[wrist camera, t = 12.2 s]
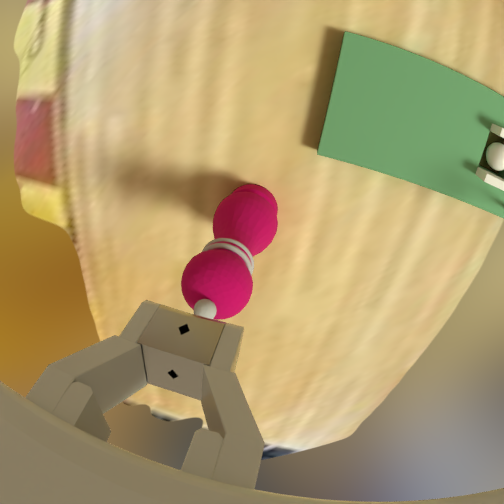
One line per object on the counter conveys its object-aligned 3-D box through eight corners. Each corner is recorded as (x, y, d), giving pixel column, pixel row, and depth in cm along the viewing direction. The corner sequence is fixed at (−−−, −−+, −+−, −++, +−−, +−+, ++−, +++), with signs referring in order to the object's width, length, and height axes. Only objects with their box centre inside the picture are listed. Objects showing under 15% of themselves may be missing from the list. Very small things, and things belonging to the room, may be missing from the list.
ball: (512, 150, 28) (490, 137, 29) (515, 150, 25) (491, 136, 27) (504, 174, 29) (481, 162, 31) (506, 177, 27) (482, 163, 29)
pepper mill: (241, 168, 38) (175, 261, 21) (292, 200, 39) (267, 313, 22) (215, 214, 42) (147, 320, 25) (263, 242, 43) (223, 362, 26)
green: (343, 33, 27) (359, 10, 16) (542, 124, 25) (610, 158, 14) (314, 162, 36) (311, 213, 24) (504, 226, 34) (553, 288, 22)
